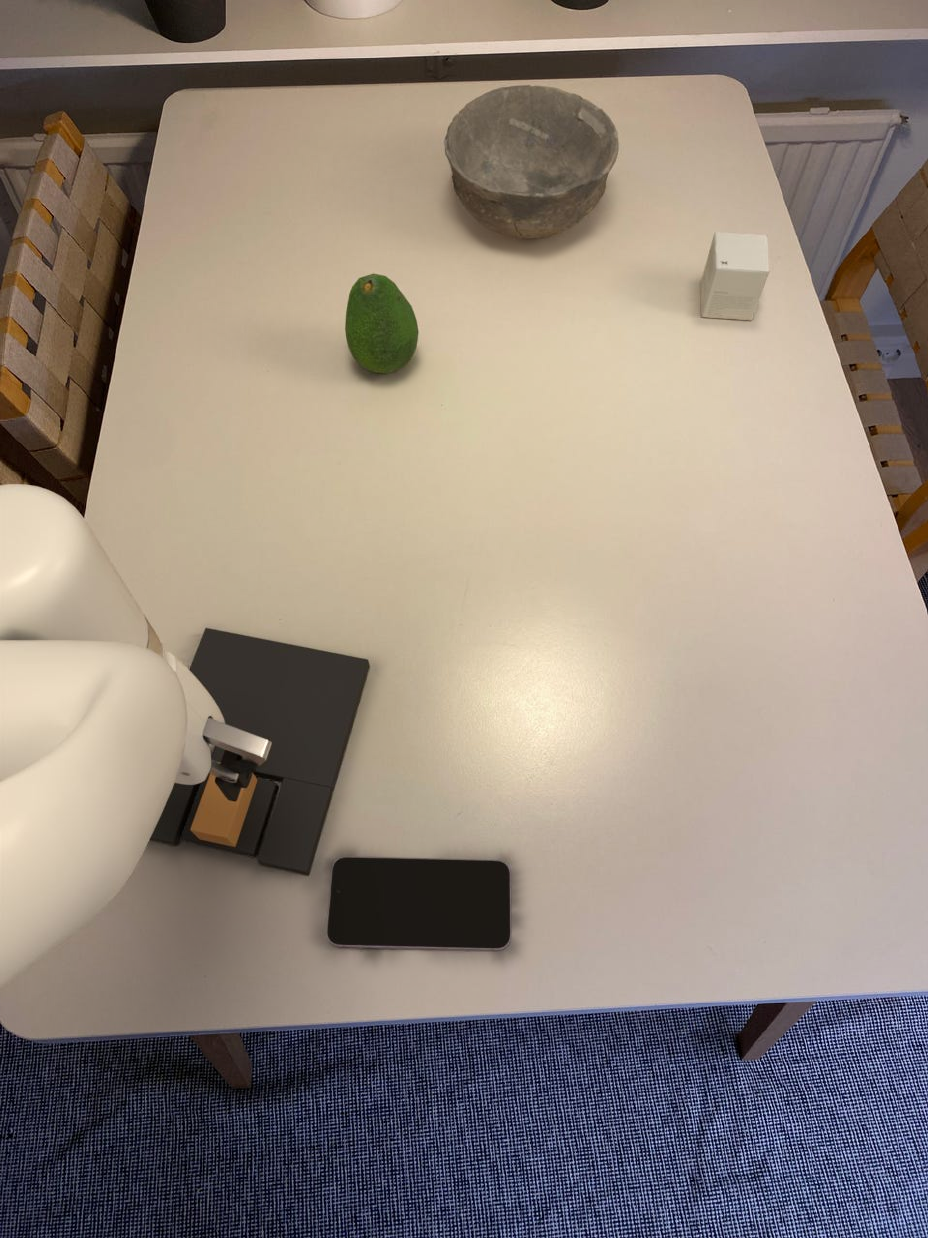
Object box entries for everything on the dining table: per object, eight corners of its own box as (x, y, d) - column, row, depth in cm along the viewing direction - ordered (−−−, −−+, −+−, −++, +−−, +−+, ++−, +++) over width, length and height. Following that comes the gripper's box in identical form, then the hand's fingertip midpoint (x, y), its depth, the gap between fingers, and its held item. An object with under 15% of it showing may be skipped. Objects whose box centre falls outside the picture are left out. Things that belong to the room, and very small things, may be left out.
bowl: (441, 160, 121) (440, 86, 112) (596, 154, 122) (607, 79, 113) (450, 270, 112) (448, 198, 103) (618, 263, 112) (631, 191, 103)
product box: (752, 322, 107) (770, 272, 101) (699, 318, 108) (714, 267, 101) (750, 285, 110) (768, 234, 104) (699, 281, 111) (714, 229, 104)
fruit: (425, 386, 103) (420, 304, 92) (354, 395, 102) (341, 313, 92) (415, 334, 107) (410, 249, 96) (347, 342, 106) (334, 257, 95)
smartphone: (511, 950, 74) (324, 946, 74) (510, 952, 75) (326, 948, 75) (510, 859, 77) (332, 855, 77) (509, 862, 78) (333, 858, 78)
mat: (309, 876, 78) (306, 872, 76) (130, 836, 79) (125, 831, 78) (370, 666, 87) (368, 659, 85) (209, 634, 88) (205, 627, 87)
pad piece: (256, 858, 78) (245, 844, 74) (185, 842, 79) (170, 828, 75) (279, 787, 81) (269, 770, 77) (210, 772, 82) (197, 755, 78)
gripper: (-84, 690, 51) (42, 791, 65) (214, 754, 49) (273, 843, 64) (-20, 577, 54) (85, 697, 69) (259, 632, 52) (305, 743, 67)
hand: (175, 767), depth 66 cm, fingers open, 9 cm apart
